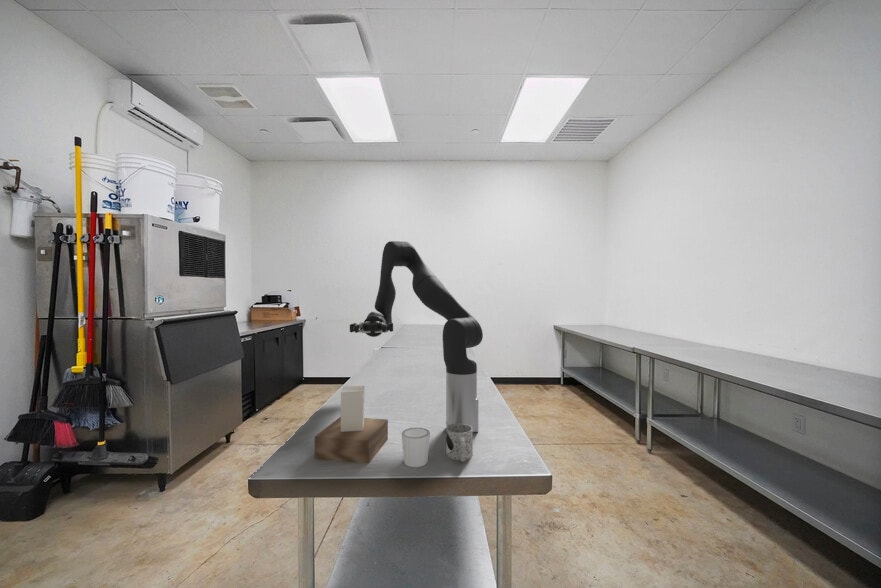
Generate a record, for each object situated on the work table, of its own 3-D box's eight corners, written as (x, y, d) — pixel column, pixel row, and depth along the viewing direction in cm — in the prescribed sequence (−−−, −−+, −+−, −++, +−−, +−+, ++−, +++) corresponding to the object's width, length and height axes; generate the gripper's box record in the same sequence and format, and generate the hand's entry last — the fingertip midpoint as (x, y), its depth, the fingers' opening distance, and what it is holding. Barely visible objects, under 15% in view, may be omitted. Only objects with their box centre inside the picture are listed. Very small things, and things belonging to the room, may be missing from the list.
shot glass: (395, 461, 83) (395, 432, 83) (416, 452, 88) (416, 424, 88) (415, 471, 78) (415, 440, 78) (435, 461, 83) (435, 432, 83)
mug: (445, 449, 90) (445, 423, 90) (470, 448, 90) (470, 422, 90) (448, 468, 80) (448, 439, 80) (477, 467, 80) (477, 438, 80)
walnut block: (387, 441, 96) (387, 419, 96) (368, 465, 82) (368, 440, 82) (340, 437, 98) (340, 416, 98) (314, 460, 84) (314, 436, 84)
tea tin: (364, 422, 93) (364, 385, 93) (362, 430, 88) (362, 391, 88) (343, 423, 92) (343, 386, 92) (340, 431, 87) (340, 392, 87)
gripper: (354, 315, 124) (346, 317, 108) (394, 314, 126) (392, 317, 109) (355, 336, 124) (346, 341, 108) (394, 335, 125) (392, 340, 109)
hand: (369, 329), depth 109 cm, fingers open, 8 cm apart
